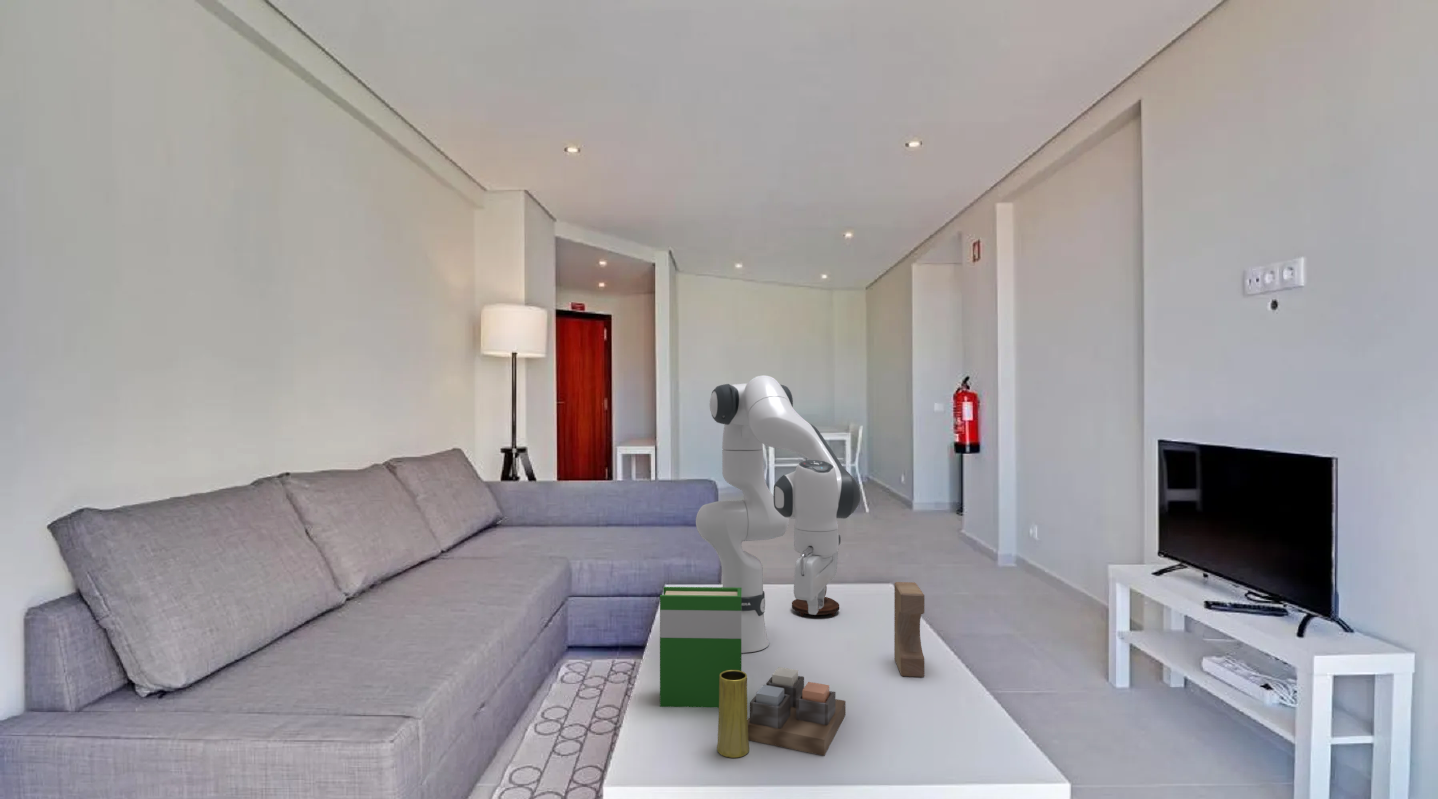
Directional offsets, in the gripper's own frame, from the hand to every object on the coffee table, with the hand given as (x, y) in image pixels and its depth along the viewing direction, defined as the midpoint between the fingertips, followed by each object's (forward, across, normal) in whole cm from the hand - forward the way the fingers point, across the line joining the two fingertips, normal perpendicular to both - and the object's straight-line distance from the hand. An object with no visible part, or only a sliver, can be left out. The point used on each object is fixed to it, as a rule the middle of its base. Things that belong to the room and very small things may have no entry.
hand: (816, 610), depth 138 cm
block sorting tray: (+24, 0, +4) cm, 24 cm away
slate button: (+19, -5, +8) cm, 21 cm away
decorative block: (+24, +40, -13) cm, 49 cm away
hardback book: (+24, +4, +27) cm, 37 cm away
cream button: (+19, +5, +8) cm, 21 cm away
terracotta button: (+19, 0, 0) cm, 19 cm away
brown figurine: (+24, +75, +20) cm, 81 cm away
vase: (+24, -14, +12) cm, 31 cm away
